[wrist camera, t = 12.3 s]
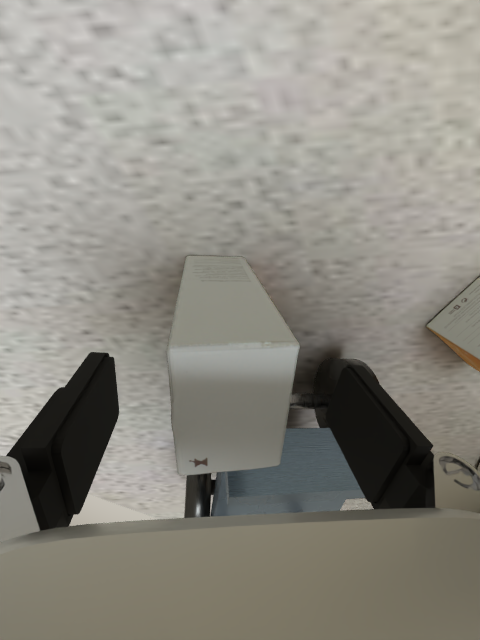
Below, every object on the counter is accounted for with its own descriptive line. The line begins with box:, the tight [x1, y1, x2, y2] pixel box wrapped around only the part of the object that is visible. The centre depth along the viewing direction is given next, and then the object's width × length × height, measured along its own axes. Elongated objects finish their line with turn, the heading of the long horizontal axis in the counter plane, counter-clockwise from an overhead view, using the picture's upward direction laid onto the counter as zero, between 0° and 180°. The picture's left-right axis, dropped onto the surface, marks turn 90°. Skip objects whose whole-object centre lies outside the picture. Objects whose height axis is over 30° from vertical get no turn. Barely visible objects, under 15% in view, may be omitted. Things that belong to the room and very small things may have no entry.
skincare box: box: [167, 256, 300, 476], centre depth 14 cm, size 6×4×12 cm
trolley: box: [184, 358, 380, 518], centre depth 16 cm, size 13×18×21 cm
